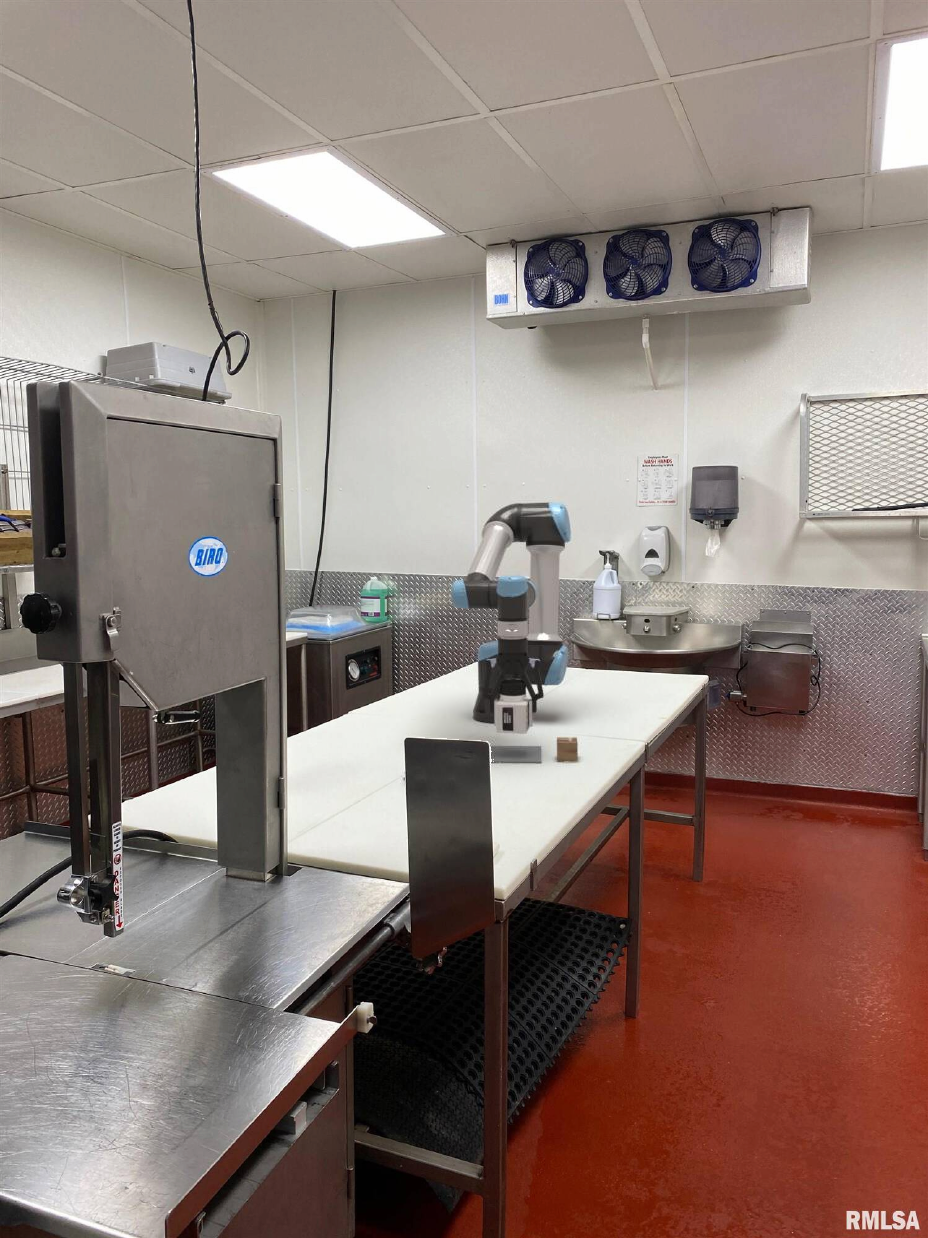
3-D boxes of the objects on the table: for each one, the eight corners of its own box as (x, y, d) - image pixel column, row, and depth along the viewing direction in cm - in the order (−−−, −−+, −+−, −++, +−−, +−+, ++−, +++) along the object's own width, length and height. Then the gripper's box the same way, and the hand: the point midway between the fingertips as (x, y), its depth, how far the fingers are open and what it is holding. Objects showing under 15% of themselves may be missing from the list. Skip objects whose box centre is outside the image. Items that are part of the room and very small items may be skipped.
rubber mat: (488, 747, 230) (488, 745, 230) (541, 747, 229) (541, 746, 229) (485, 762, 216) (484, 761, 216) (541, 763, 215) (541, 761, 215)
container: (526, 734, 217) (526, 683, 215) (496, 733, 218) (495, 682, 217) (530, 726, 224) (530, 677, 223) (500, 725, 226) (500, 676, 224)
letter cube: (556, 756, 221) (556, 736, 220) (576, 756, 220) (576, 736, 220) (557, 762, 216) (557, 741, 215) (577, 762, 216) (577, 741, 215)
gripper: (470, 639, 216) (471, 728, 218) (554, 639, 214) (554, 729, 217) (472, 635, 223) (473, 721, 226) (554, 634, 221) (554, 721, 224)
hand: (513, 725), depth 221 cm, fingers closed on container, 8 cm apart
